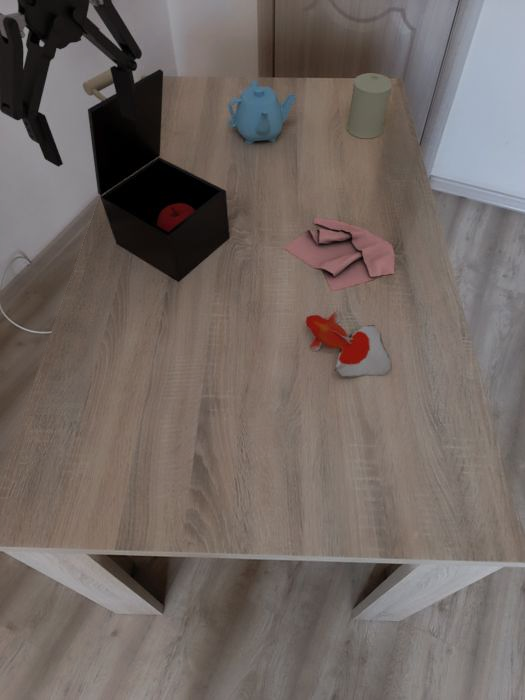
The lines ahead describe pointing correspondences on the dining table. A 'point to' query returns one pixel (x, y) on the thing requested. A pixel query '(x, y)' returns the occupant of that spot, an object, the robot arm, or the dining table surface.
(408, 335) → the dining table surface
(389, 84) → the can
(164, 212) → the apple
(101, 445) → the dining table surface
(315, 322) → the fish
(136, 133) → the lid
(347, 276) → the cloth
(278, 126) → the teapot
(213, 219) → the box
